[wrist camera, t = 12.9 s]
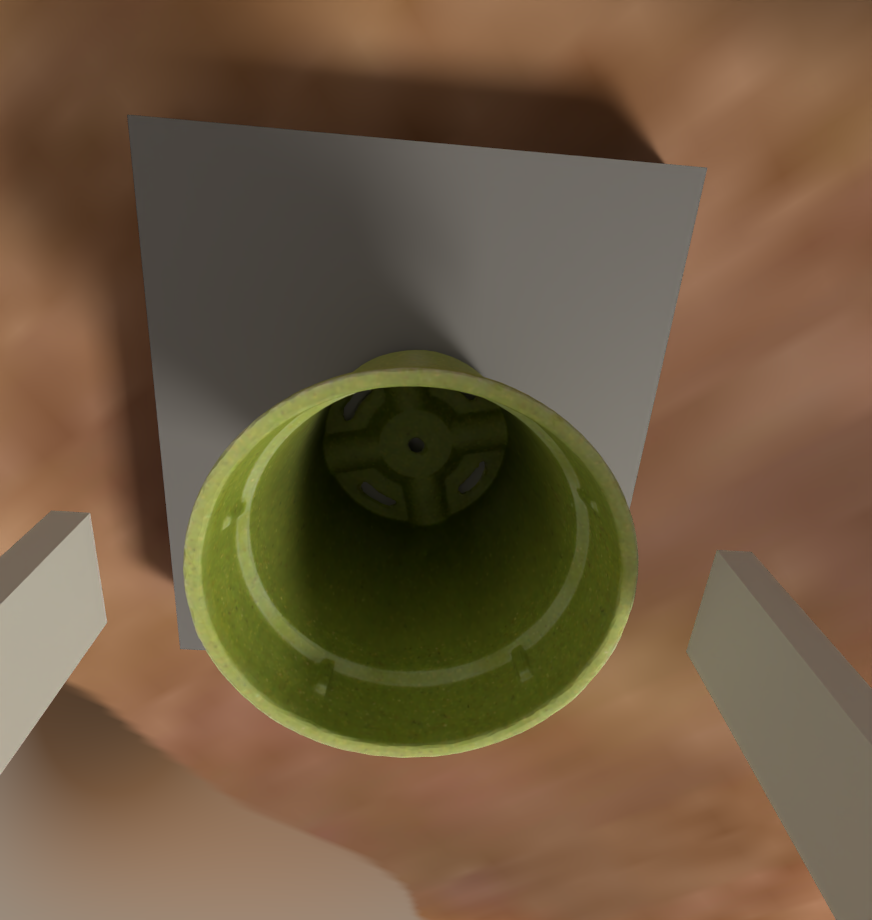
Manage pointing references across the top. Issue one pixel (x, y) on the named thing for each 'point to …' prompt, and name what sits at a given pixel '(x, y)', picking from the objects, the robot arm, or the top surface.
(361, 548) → the plant pot
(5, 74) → the top surface
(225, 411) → the board
